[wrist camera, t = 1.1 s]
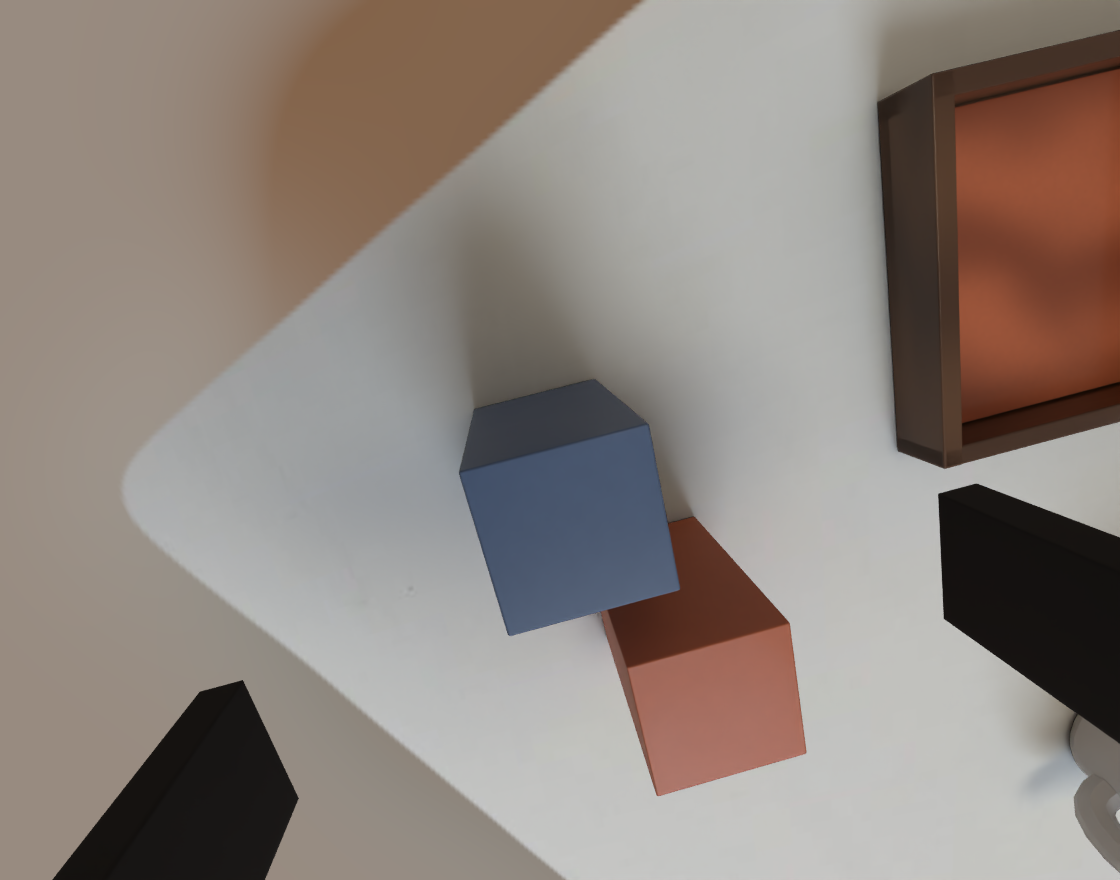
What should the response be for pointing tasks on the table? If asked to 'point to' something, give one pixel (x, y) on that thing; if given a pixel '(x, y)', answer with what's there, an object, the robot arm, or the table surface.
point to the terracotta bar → (707, 670)
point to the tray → (1004, 250)
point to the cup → (1098, 788)
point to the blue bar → (567, 505)
